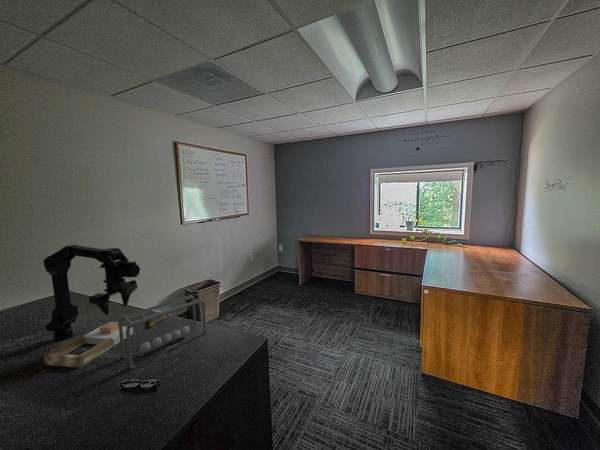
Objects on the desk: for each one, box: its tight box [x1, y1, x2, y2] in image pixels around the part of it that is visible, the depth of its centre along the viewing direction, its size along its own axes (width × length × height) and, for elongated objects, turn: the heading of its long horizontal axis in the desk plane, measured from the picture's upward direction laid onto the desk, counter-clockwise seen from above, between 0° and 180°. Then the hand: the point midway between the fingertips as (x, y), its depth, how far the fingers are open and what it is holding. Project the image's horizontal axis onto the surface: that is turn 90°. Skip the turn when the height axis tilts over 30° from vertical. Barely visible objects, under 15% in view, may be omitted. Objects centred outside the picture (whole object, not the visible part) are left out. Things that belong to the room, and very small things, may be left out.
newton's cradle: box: [117, 294, 207, 370], centre depth 102 cm, size 30×10×18 cm, turn 140°
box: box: [43, 334, 114, 369], centre depth 98 cm, size 16×14×4 cm
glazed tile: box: [99, 321, 119, 334], centre depth 112 cm, size 6×6×2 cm
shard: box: [148, 315, 167, 328], centre depth 124 cm, size 11×8×2 cm
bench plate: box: [83, 324, 134, 347], centre depth 110 cm, size 16×10×3 cm, turn 82°
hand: (116, 310), depth 110 cm, fingers open, 9 cm apart
